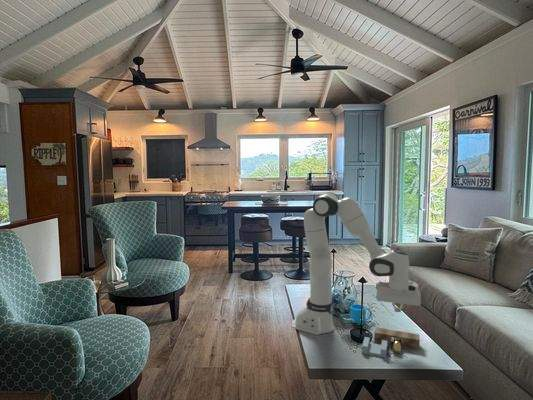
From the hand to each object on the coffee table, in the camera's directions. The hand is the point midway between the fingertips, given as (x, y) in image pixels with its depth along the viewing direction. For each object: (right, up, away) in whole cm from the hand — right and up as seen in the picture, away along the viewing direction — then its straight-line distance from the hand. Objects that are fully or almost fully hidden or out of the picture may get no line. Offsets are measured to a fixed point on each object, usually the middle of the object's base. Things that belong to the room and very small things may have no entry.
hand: (397, 311), depth 167 cm
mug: (-11, -13, +24) cm, 30 cm away
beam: (-1, -15, -1) cm, 15 cm away
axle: (-2, -16, -4) cm, 16 cm away
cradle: (-13, -16, -7) cm, 22 cm away
